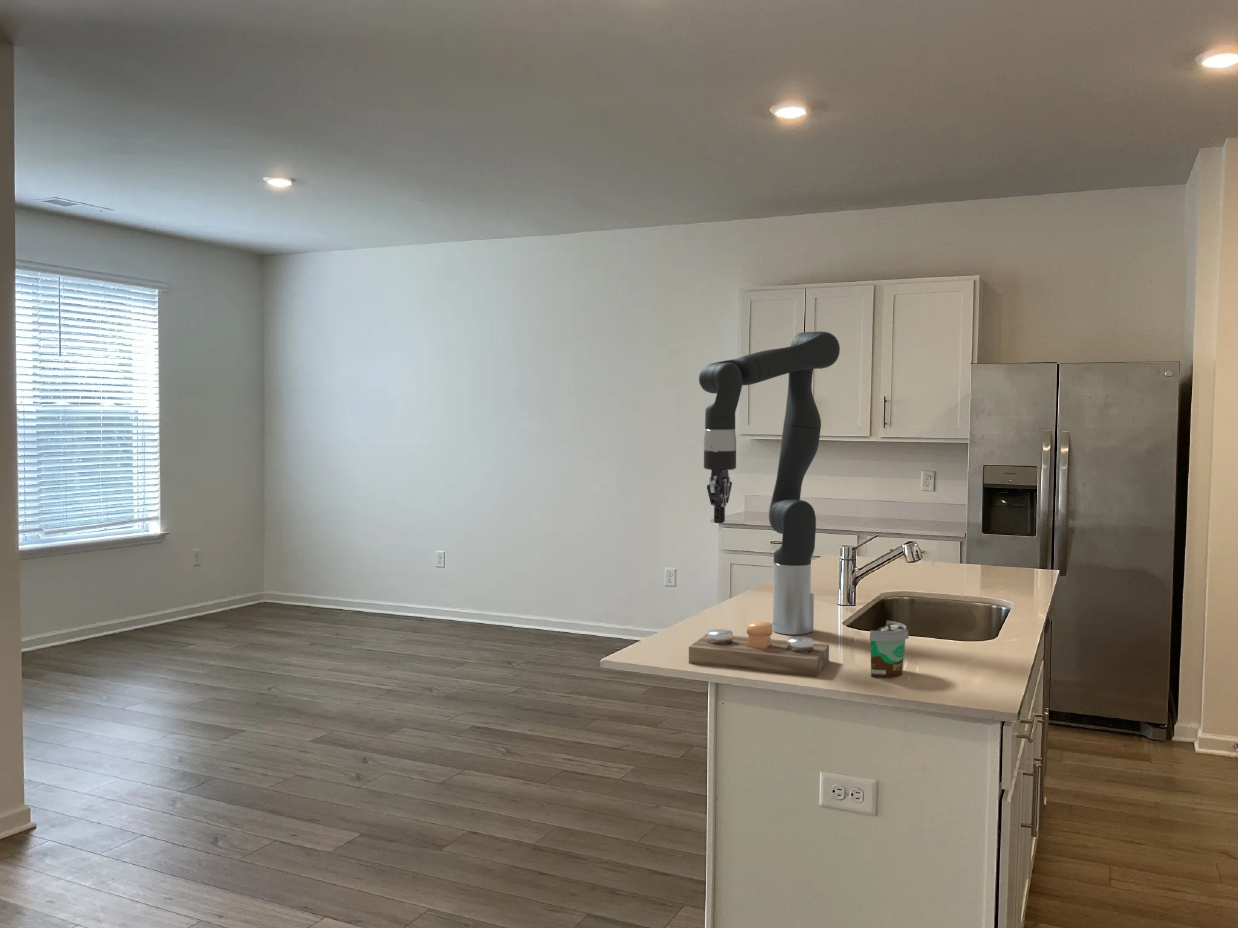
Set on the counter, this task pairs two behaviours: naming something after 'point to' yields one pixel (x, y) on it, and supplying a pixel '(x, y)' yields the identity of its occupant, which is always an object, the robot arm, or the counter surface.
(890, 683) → the counter surface
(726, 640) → the knob
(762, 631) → the knob mid
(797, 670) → the knob mount
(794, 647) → the knob
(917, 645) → the counter surface
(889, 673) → the food container
